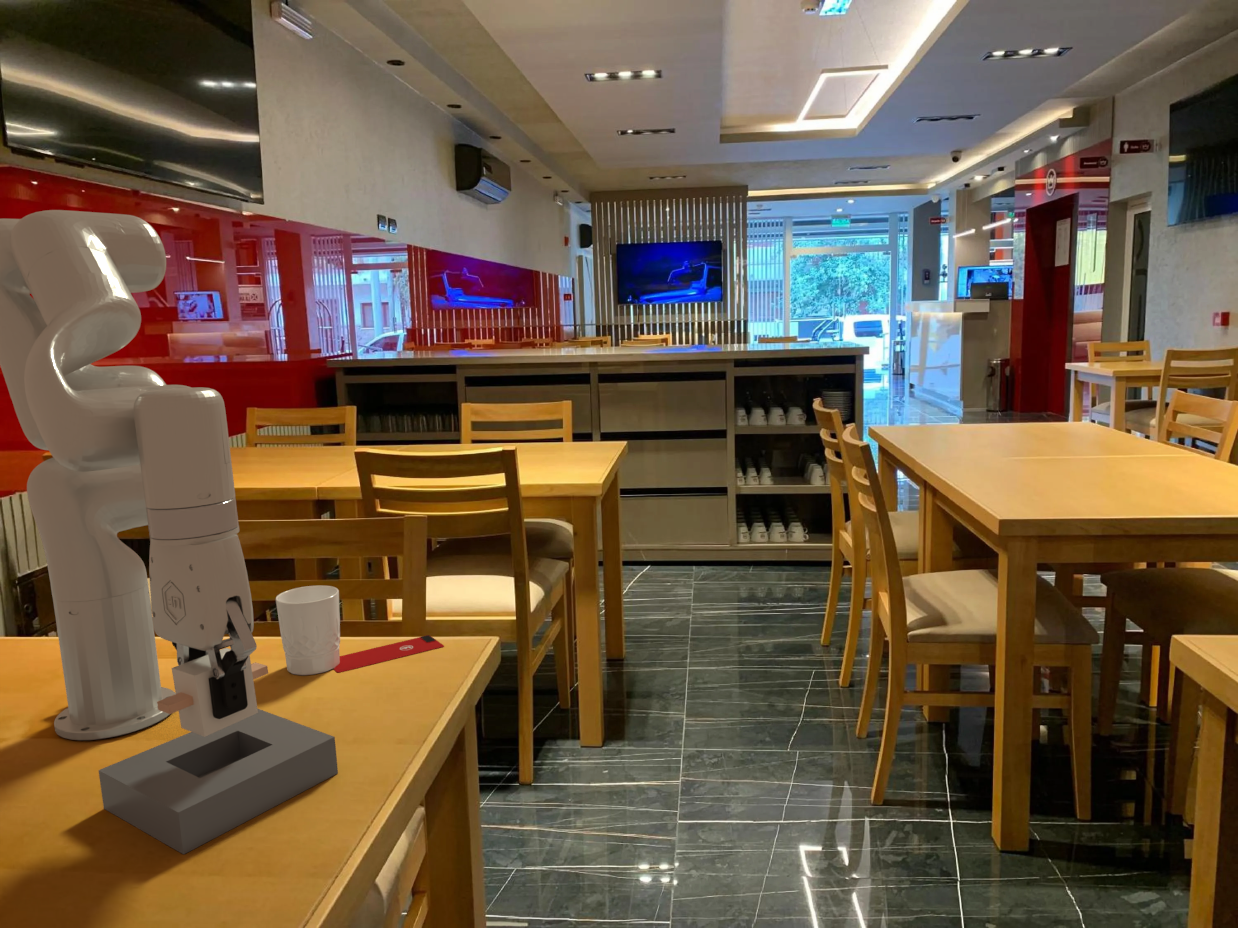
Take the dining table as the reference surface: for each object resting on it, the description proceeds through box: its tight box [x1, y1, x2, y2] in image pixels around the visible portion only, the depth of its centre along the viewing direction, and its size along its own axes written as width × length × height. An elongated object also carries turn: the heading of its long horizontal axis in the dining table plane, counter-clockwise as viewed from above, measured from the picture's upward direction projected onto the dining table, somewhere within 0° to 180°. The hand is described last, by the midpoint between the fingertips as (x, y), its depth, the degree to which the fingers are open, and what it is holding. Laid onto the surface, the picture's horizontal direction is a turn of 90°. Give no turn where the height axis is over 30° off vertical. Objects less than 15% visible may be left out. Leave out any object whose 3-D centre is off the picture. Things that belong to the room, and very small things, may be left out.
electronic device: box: [332, 634, 445, 674], centre depth 120 cm, size 6×1×15 cm
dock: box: [98, 707, 339, 855], centre depth 85 cm, size 14×16×4 cm
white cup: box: [275, 585, 341, 676], centre depth 116 cm, size 8×8×10 cm
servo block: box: [157, 647, 269, 737], centre depth 83 cm, size 4×10×6 cm, turn 145°
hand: (216, 706), depth 83 cm, fingers closed on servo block, 4 cm apart
